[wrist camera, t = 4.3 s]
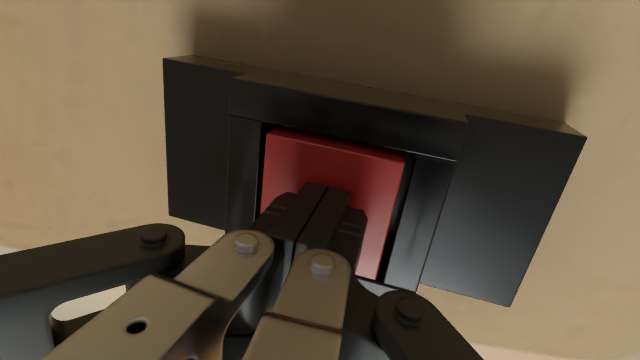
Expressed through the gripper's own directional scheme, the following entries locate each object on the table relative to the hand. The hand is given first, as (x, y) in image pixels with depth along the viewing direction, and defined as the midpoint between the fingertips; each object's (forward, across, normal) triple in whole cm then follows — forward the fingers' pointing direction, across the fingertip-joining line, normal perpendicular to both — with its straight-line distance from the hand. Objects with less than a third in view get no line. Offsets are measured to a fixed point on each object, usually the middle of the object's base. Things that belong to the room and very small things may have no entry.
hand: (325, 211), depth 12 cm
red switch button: (+2, 0, 0) cm, 2 cm away
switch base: (+4, 0, 0) cm, 4 cm away
